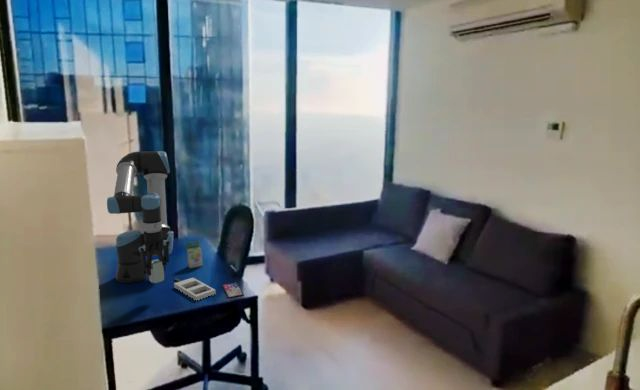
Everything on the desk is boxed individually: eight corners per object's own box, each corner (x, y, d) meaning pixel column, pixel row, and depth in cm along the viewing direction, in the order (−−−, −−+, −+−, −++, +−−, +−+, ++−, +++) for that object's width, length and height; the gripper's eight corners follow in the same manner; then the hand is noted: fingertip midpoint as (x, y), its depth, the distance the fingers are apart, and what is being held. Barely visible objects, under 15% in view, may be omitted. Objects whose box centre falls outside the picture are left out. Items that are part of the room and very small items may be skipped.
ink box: (189, 268, 238) (188, 244, 235) (187, 266, 242) (186, 242, 239) (202, 266, 242) (201, 242, 239) (200, 264, 245) (199, 240, 242)
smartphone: (227, 297, 205) (221, 284, 218) (228, 299, 205) (221, 286, 218) (244, 294, 207) (237, 282, 221) (244, 296, 208) (237, 283, 221)
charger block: (150, 280, 202) (148, 261, 200) (159, 277, 205) (157, 258, 203) (154, 283, 199) (153, 264, 197) (163, 280, 202) (162, 261, 200)
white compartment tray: (165, 282, 221) (165, 278, 221) (184, 276, 228) (184, 272, 228) (196, 301, 202) (196, 296, 201) (215, 294, 209) (215, 289, 208)
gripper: (137, 237, 188) (141, 288, 194) (175, 228, 200) (178, 276, 206) (129, 232, 193) (134, 283, 199) (167, 224, 205) (170, 271, 211)
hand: (156, 279), depth 202 cm, fingers closed on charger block, 4 cm apart
